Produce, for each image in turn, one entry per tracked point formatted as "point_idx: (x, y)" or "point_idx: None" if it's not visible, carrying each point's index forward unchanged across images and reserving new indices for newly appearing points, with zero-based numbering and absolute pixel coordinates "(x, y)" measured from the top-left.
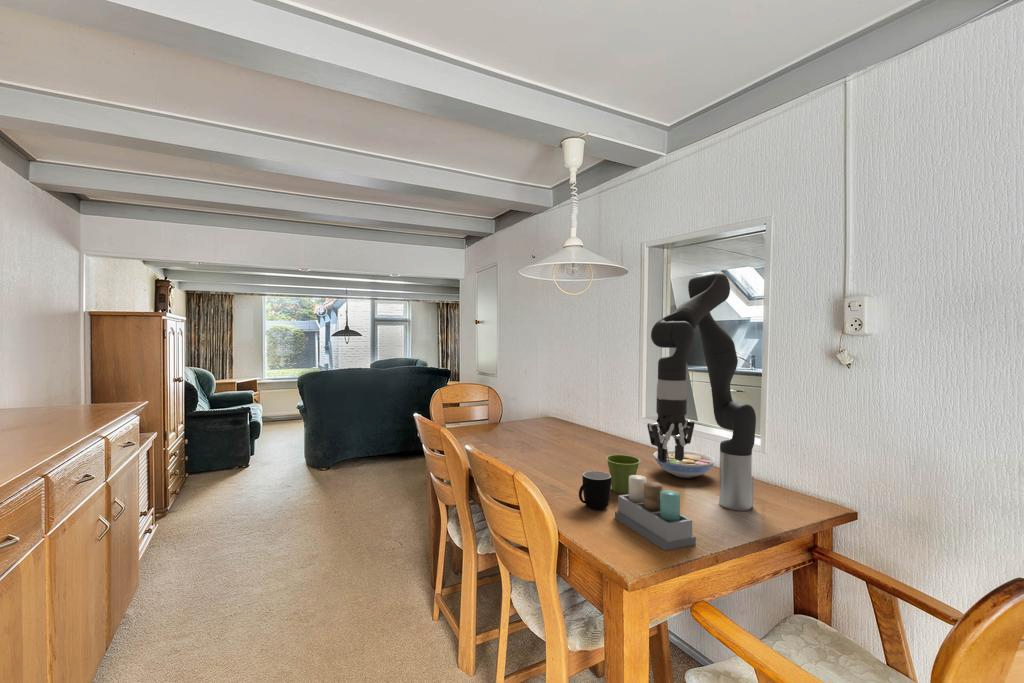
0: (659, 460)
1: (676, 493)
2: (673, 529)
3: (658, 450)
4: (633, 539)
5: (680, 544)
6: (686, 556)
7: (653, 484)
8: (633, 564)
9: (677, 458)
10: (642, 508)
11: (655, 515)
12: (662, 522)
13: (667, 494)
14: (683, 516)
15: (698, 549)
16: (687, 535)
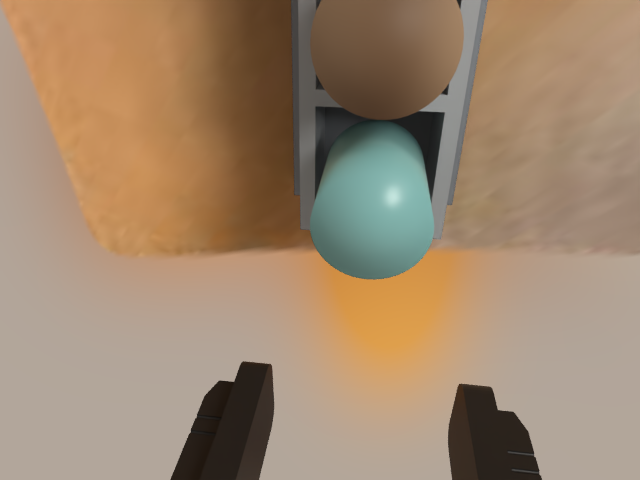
0: (242, 367)
1: (405, 245)
2: None
3: (176, 478)
4: (240, 55)
5: None
6: None
7: (398, 34)
8: (145, 208)
9: (455, 418)
10: (309, 15)
11: (313, 130)
12: (300, 193)
13: (336, 238)
14: (439, 194)
15: None
16: None
